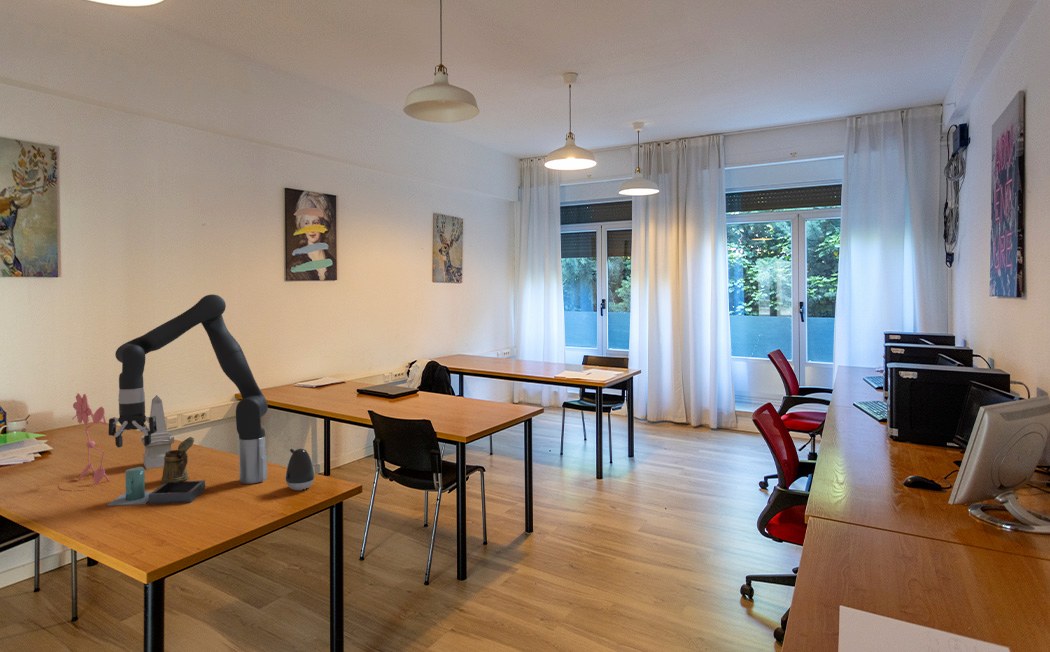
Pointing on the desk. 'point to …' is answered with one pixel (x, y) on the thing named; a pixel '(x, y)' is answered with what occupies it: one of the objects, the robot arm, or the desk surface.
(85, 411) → the figurine
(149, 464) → the miniature monument
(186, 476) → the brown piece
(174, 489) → the dark grey rectangular frame
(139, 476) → the glazed jug
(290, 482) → the grey egg-shaped device
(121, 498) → the slate grey mat
